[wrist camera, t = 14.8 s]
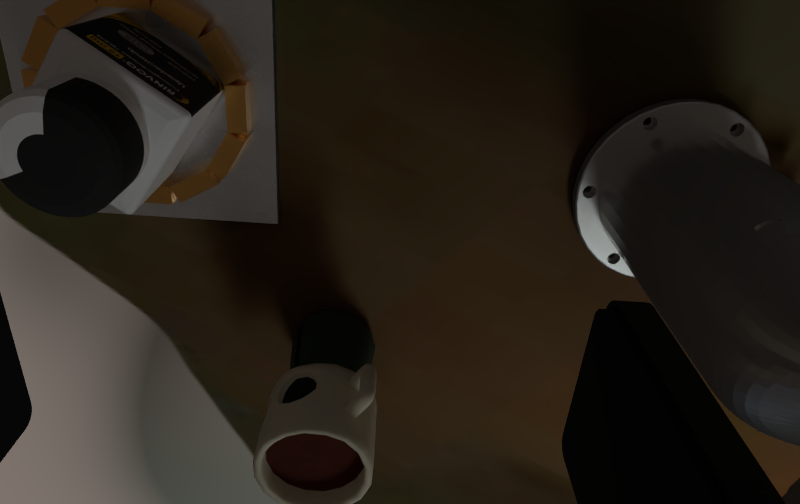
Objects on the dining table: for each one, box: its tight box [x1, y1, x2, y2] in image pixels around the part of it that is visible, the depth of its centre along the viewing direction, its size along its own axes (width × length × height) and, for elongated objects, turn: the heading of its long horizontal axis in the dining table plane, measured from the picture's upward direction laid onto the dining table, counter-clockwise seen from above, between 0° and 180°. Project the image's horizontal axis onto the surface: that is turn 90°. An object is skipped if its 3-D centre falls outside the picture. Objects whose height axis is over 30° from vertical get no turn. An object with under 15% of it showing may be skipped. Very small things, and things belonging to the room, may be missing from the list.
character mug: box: [253, 311, 377, 504], centre depth 41 cm, size 11×7×13 cm, turn 141°
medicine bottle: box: [0, 13, 224, 217], centre depth 32 cm, size 7×7×12 cm
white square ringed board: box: [0, 0, 280, 224], centre depth 37 cm, size 16×16×2 cm
